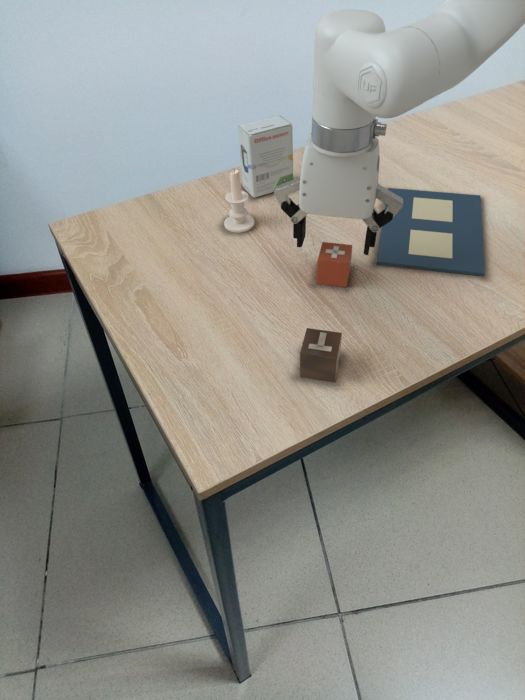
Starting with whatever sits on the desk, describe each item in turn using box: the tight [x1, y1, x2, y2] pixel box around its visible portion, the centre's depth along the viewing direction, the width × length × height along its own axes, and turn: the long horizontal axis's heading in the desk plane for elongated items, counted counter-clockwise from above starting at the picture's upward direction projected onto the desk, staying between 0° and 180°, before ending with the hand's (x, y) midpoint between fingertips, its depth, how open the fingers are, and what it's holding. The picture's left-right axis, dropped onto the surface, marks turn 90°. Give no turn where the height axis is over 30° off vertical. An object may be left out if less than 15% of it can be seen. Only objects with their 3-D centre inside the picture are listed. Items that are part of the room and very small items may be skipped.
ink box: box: [237, 115, 294, 199], centre depth 95 cm, size 9×5×12 cm, turn 116°
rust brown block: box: [316, 241, 353, 288], centre depth 79 cm, size 4×4×5 cm
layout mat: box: [375, 187, 486, 277], centre depth 88 cm, size 16×22×1 cm
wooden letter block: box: [299, 327, 343, 383], centre depth 67 cm, size 4×4×5 cm
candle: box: [223, 169, 255, 234], centre depth 88 cm, size 5×5×10 cm
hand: (333, 245), depth 77 cm, fingers open, 9 cm apart
